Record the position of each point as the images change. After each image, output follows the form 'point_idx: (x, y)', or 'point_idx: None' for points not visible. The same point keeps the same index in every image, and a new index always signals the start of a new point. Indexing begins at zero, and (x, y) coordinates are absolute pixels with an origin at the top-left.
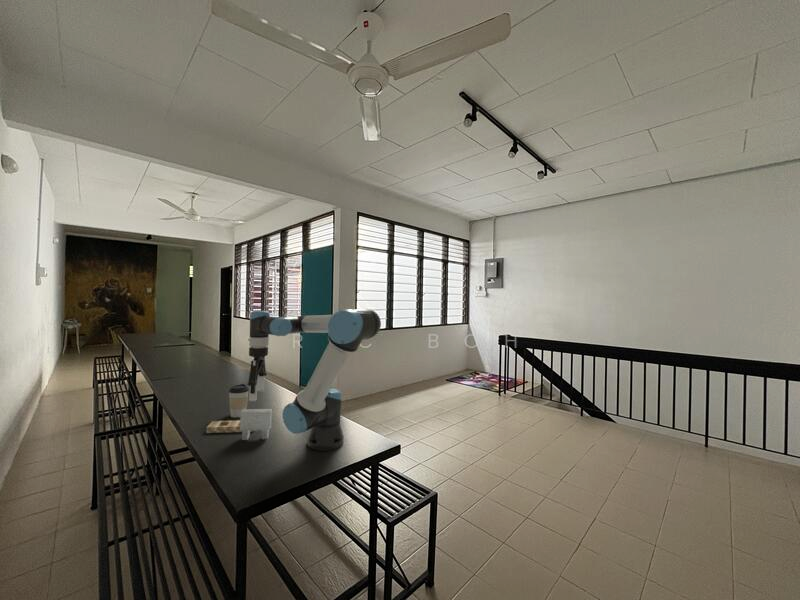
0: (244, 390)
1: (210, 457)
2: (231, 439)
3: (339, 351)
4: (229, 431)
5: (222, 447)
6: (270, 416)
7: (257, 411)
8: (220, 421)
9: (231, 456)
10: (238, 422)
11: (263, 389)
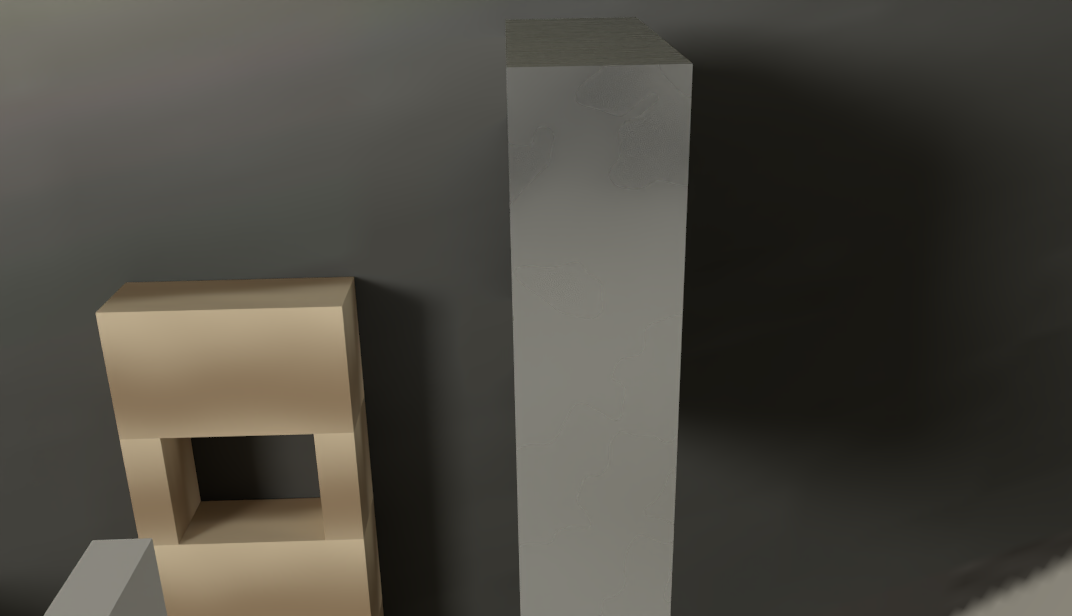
0: None
1: (1004, 533)
2: None
3: None
4: (377, 567)
5: (788, 501)
6: (649, 46)
7: (662, 349)
8: None
9: (1037, 342)
10: (218, 552)
11: (136, 573)
